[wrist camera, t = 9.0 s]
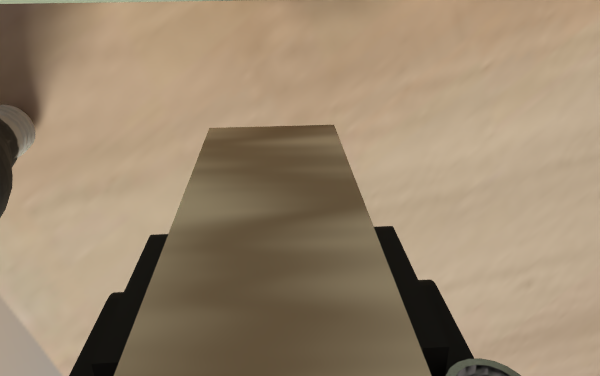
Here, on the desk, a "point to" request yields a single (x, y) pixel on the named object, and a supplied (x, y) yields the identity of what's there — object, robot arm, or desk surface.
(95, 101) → the desk surface
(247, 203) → the block
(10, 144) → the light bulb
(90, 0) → the lid
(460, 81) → the desk surface
